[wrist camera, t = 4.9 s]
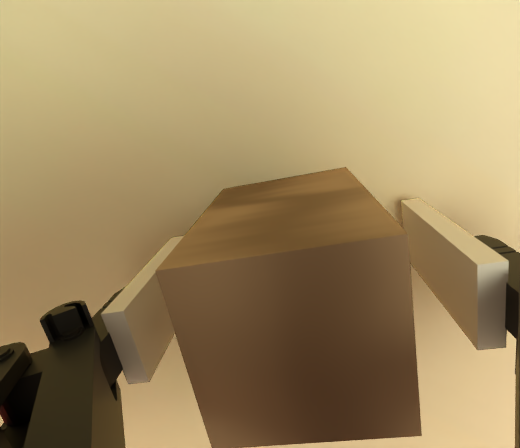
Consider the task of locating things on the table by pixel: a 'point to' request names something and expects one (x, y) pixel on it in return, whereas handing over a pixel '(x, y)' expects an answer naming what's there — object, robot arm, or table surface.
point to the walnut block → (296, 314)
